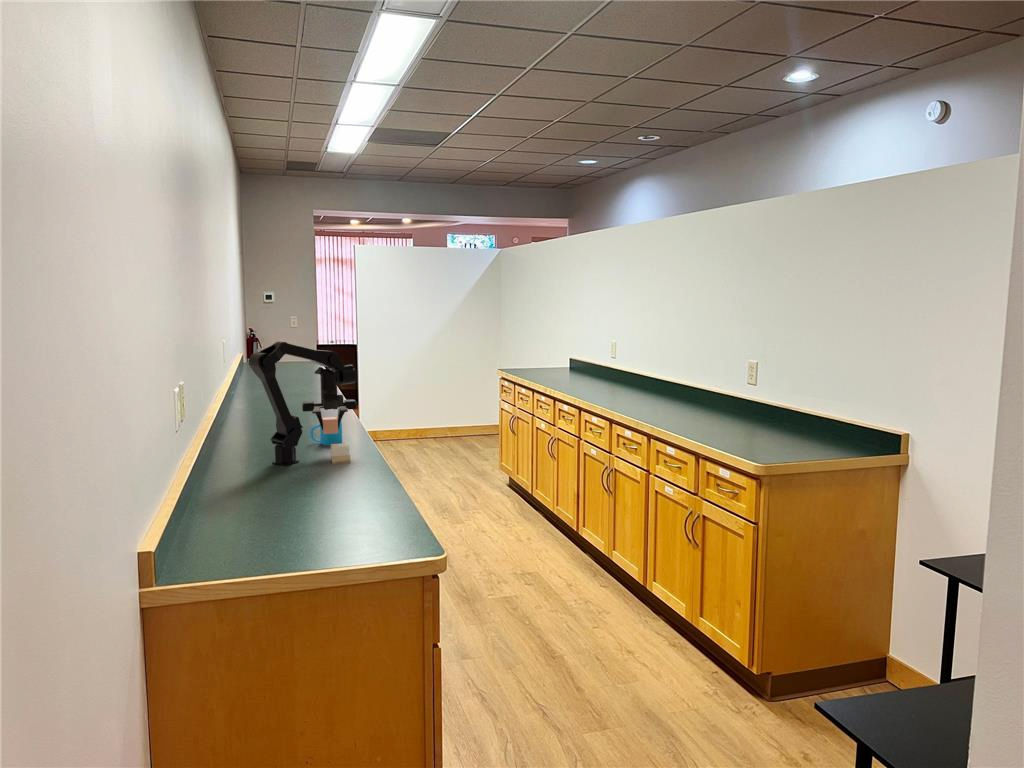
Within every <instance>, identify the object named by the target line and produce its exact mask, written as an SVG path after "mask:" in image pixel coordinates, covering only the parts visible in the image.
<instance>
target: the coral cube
mask: <svg viewBox="0 0 1024 768" xmlns="http://www.w3.org/2000/svg"><path fill="white" fill-rule="evenodd" d="M337 418H338V416H331V417H330V416H329V417H328V416H327V417H326V416H325V417H322V422H323V434H332V433H338V419H337Z"/></svg>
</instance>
